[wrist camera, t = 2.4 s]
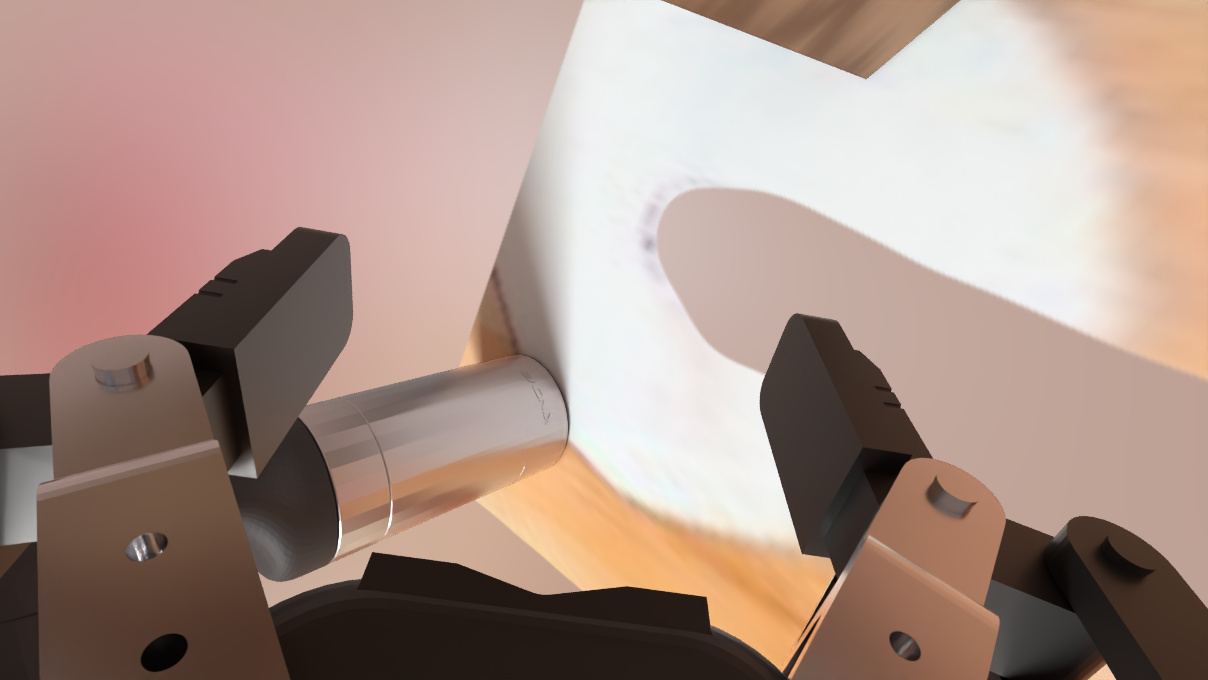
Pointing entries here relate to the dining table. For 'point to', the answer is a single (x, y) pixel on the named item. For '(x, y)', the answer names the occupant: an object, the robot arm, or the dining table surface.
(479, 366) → the robot arm
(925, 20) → the wooden block
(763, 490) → the dining table surface
